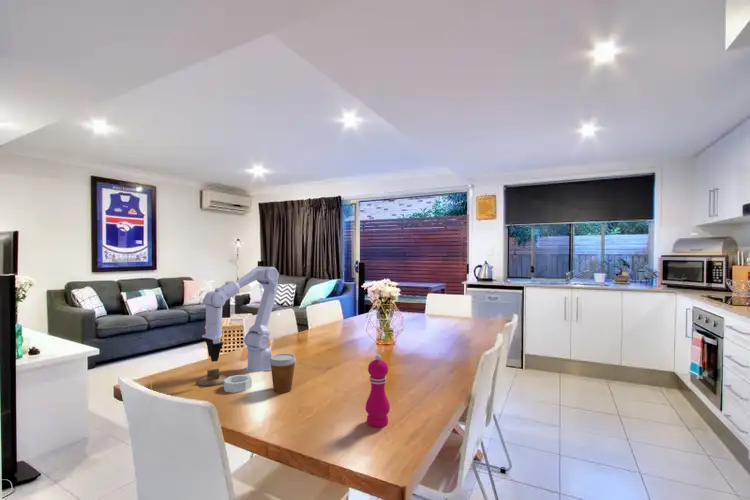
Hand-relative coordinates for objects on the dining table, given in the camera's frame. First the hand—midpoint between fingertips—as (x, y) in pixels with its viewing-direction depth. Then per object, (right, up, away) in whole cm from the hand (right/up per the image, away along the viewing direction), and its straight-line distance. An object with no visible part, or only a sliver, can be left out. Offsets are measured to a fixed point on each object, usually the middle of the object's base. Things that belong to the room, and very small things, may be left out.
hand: (213, 358), depth 140 cm
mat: (0, -9, 0) cm, 9 cm away
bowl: (+12, -9, -6) cm, 16 cm away
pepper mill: (+63, -10, -32) cm, 71 cm away
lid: (0, -9, 0) cm, 9 cm away
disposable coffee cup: (+28, -10, -7) cm, 31 cm away
